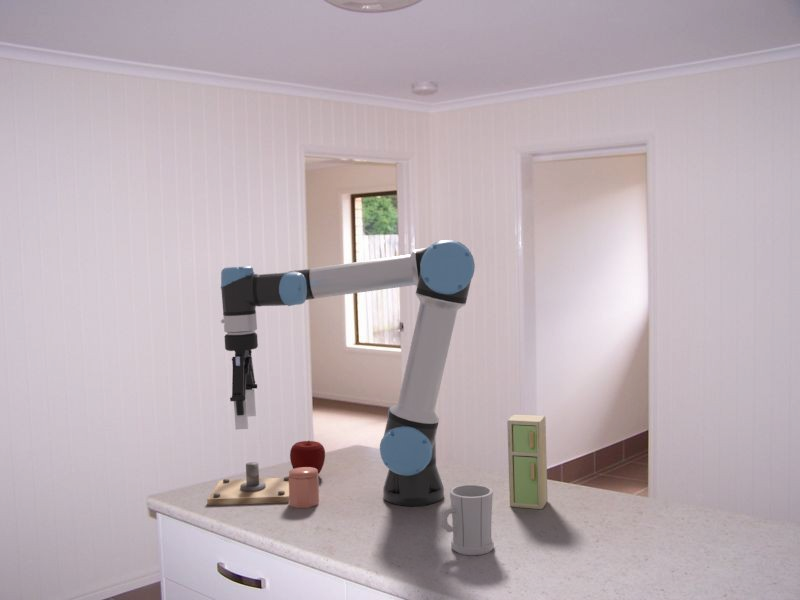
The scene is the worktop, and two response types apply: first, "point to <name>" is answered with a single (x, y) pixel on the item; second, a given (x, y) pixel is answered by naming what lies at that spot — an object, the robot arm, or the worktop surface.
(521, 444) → the toy refrigerator
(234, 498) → the stud plate
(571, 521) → the worktop surface
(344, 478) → the worktop surface
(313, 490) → the cap
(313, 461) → the apple
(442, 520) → the cup
